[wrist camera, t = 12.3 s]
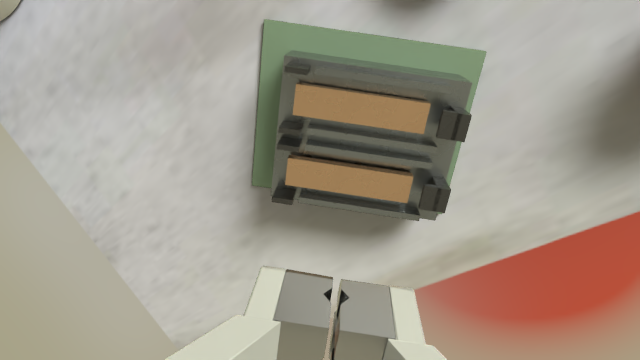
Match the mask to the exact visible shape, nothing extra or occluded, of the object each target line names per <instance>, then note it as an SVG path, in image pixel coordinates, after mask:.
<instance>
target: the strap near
mask: <svg viewBox="0 0 640 360" xmlns="http://www.w3.org/2000/svg"><path fill="white" fill-rule="evenodd" d="M430 105H431V103H430V102H429V101H423V100H416V99H409V98H402V97H395V96H389V95H382V94H375V93H368V92H361V91H354V90H348V89H341V88H334V87H327V86H320V85H313V84H307V83H300V82H297V83H296V88H295V98H294V107H293V115H297V116H304V117H311V118H317V119H324V120H331V121H338V122H344V123H351V124H358V125H365V126H372V127H378V128H385V129H392V130H399V131H405V132H412V133H419V134H424V131H425V126H426V122H427V118H428V114H429V109H430Z"/></svg>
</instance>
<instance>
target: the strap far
mask: <svg viewBox="0 0 640 360" xmlns="http://www.w3.org/2000/svg"><path fill="white" fill-rule="evenodd" d="M412 181H413V174H412V173H410V172H403V171H396V170H390V169H383V168H376V167H369V166H363V165H356V164H349V163H343V162H336V161H329V160H323V159H316V158H309V157H303V156H296V155H289V157H288V162H287V171H286V181H285V185H290V186H296V187H303V188H310V189H316V190H323V191H330V192H336V193H343V194H350V195H356V196H363V197H369V198H376V199H383V200H389V201H396V202H403V203H407V202H408V198H409V194H410V190H411V185H412Z"/></svg>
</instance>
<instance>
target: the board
mask: <svg viewBox="0 0 640 360" xmlns="http://www.w3.org/2000/svg"><path fill="white" fill-rule="evenodd" d="M291 50H295V51H301V52H308V53H315V54H322V55H329V56H336V57H343V58H350V59H356V60H363V61H370V62H377V63H384V64H391V65H398V66H405V67H411V68H418V69H425V70H432V71H439V72H446V73H453V74H460V75H461V76H463V77H464V78H466V79H467V80H469V81H470V82H472V87H471V90H470V94H469V98H468V101H467V105H466V109H465V110H466V111H468V112H469V113H470V110H471V106H472V103H473V99H474V95H475V92H476V88H477V84H478V81H479V77H480V73H481V70H482V66H483V63H484V59H485V55H486V51H481V50H474V49H467V48H461V47H454V46H447V45H440V44H433V43H426V42H419V41H412V40H405V39H398V38H391V37H384V36H377V35H370V34H363V33H357V32H350V31H343V30H336V29H329V28H322V27H315V26H308V25H301V24H294V23H287V22H280V21H273V20H266V19H265V20H264V30H263V44H262V57H261V71H260V84H259V97H258V111H257V124H256V137H255V151H254V164H253V177H252V185H253V186H260V187H266V188H272V178H273V167H274V156H275V146H276V135H277V125H278V114H279V104H280V93H281V83H282V72H283V62H284V55H285V54H287V53H288V52H290V51H291ZM460 146H461V142H460V141H457V142H456V146H455V150H454V153H453V157H452V161H451V164H450V168H449V172H448V175H447V179H446V181H447V183H448V185H449V186H450V182H451V179H452V175H453V172H454V168H455V164H456V161H457V157H458V153H459V150H460ZM437 213H438V214H442V213H440V212H437Z"/></svg>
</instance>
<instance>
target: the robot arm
mask: <svg viewBox="0 0 640 360" xmlns="http://www.w3.org/2000/svg"><path fill="white" fill-rule="evenodd" d="M20 1H21V0H0V21H1V20H3V19H4V18H6V17H7V16H9V15H10V14H11V13H12V12H13V11H14V10H15V8H16V7H17V6H18V4H19V2H20ZM332 284H333V277H328V276H322V275H317V274H311V273H305V272H299V271H294V270H288V269H287V270H285V269H282V268H276V267H269V266H263V267H262V268H261V269H260V271H259V274H258V277H257V280H256V282H255V285H254V288H253V291H252V293H251V296H250V299H249V302H248V304H247V307H246V310H245V313H244V316H241V315H235V316H234V317H232V318H230V319H229V320H227V321H226V322H224V323H222V324H221V325H219V326H218V327H216V328H214V329H213V330H211V331H210V332H208V333H206V334H205V335H203V336H202V337H200V338H198V339H197V340H195V341H194V342H192V343H190V344H189V345H187V346H186V347H184V348H182V349H181V350H179V351H178V352H176V353H174V354H173V355H171V356H170V357H168V358H166V359H165V360H322V359H323V358H324V354H325V348H326V342H327V336H328V330H329V321H330V310H331V302H330V299H331V293H332ZM329 359H330V360H447V359H446V358H445V357H444V356H443V355H442V354H441V353H440V352H439V351H438V350H437V349H436V348H435V347H434V346H432V345H426V343H425V338H424V334H423V329H422V324H421V320H420V315H419V311H418V307H417V302H416V297H415V293H414V290H413V289H412V288H406V287H398V286H390V285H388V286H386V285H378V284H371V283H364V282H357V281H350V280H343V279H341V281H340V285H339V291H338V297H337V311H335V313H334V319H333V326H332V332H331V338H330V349H329Z"/></svg>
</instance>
